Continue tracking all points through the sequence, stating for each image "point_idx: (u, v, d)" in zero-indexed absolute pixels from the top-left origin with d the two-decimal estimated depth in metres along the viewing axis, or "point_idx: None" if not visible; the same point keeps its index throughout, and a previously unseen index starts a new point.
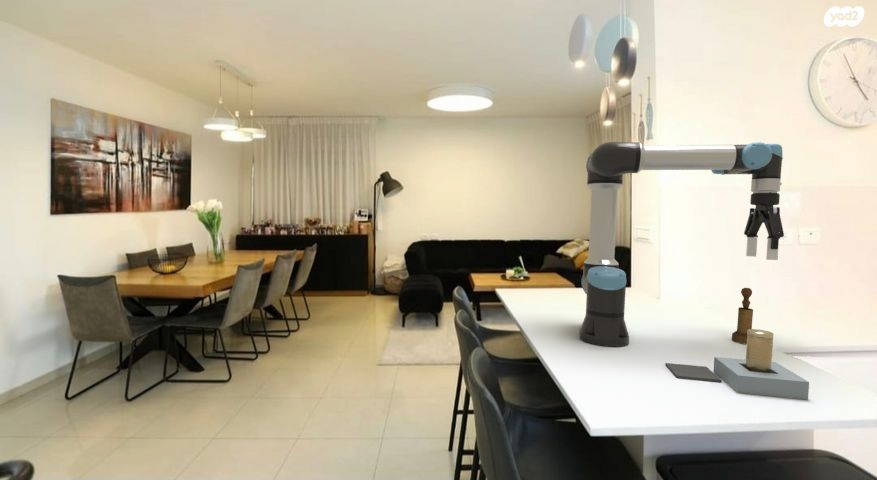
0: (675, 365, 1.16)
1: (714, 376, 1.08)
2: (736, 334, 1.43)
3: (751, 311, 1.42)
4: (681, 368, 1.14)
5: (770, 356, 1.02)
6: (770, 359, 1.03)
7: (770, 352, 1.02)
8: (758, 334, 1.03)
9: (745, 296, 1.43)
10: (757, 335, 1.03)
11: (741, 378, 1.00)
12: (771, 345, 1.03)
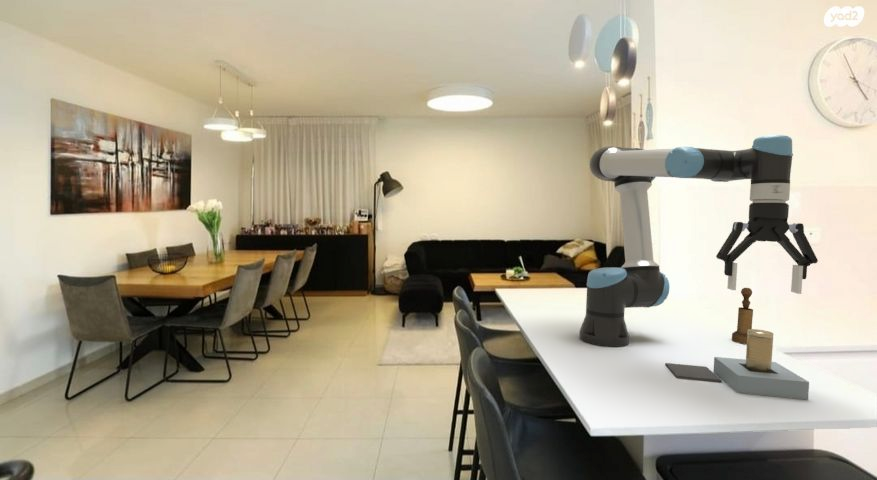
0: (675, 365, 1.16)
1: (714, 376, 1.08)
2: (736, 334, 1.43)
3: (751, 311, 1.42)
4: (681, 368, 1.14)
5: (770, 356, 1.02)
6: (770, 359, 1.03)
7: (770, 352, 1.02)
8: (758, 334, 1.03)
9: (745, 296, 1.43)
10: (757, 335, 1.03)
11: (741, 378, 1.00)
12: (771, 345, 1.03)
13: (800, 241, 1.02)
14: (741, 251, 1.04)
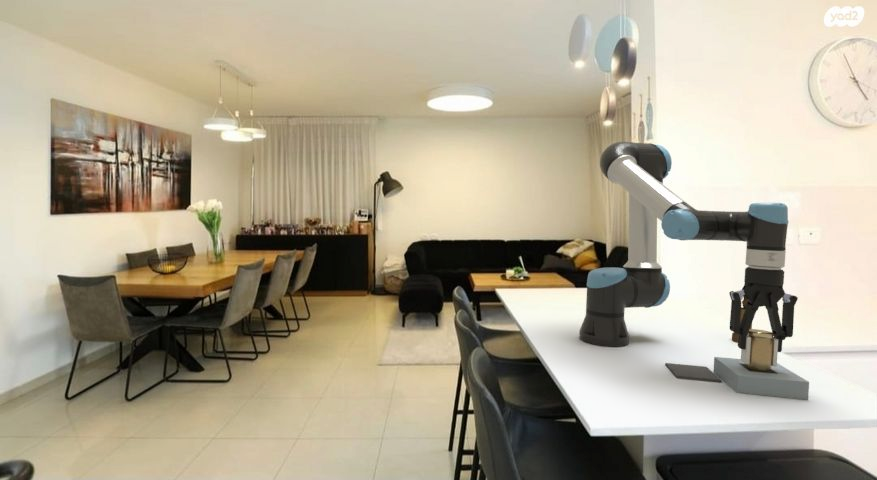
0: (675, 365, 1.16)
1: (714, 376, 1.08)
2: (736, 334, 1.43)
3: None
4: (681, 368, 1.14)
5: (770, 356, 1.02)
6: (770, 359, 1.03)
7: (770, 352, 1.02)
8: (758, 334, 1.03)
9: None
10: (757, 335, 1.03)
11: (741, 378, 1.00)
12: (771, 345, 1.03)
13: (786, 312, 1.03)
14: (749, 322, 1.04)
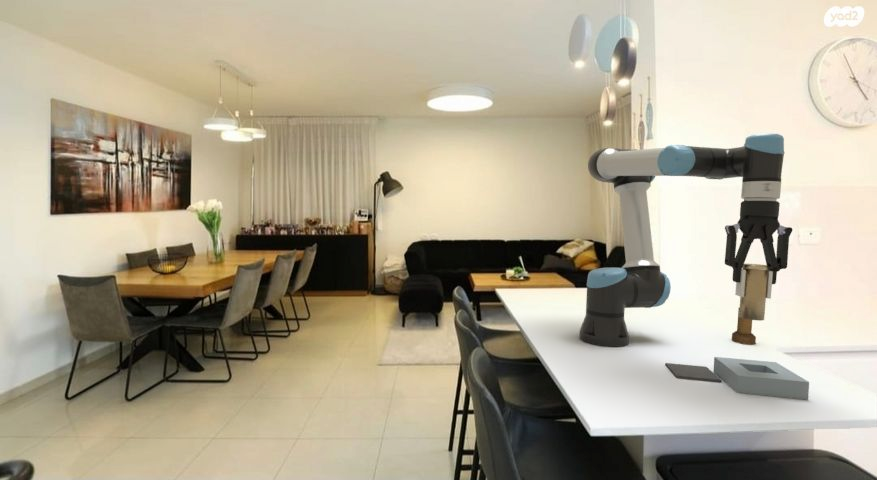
0: (675, 365, 1.16)
1: (714, 376, 1.08)
2: (736, 334, 1.43)
3: None
4: (681, 368, 1.14)
5: (764, 288, 1.03)
6: (765, 291, 1.03)
7: (765, 284, 1.03)
8: (753, 266, 1.03)
9: None
10: (752, 267, 1.03)
11: (741, 378, 1.00)
12: (766, 277, 1.03)
13: (781, 244, 1.03)
14: (745, 255, 1.04)
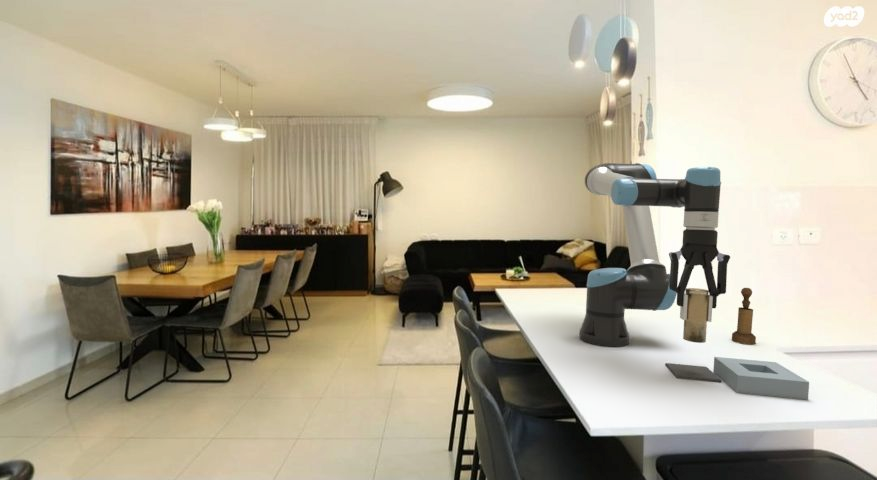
0: (675, 365, 1.16)
1: (714, 376, 1.08)
2: (736, 334, 1.43)
3: (751, 311, 1.42)
4: (681, 368, 1.14)
5: (705, 312, 1.09)
6: (705, 315, 1.09)
7: (705, 308, 1.09)
8: (694, 291, 1.09)
9: (745, 296, 1.43)
10: (693, 292, 1.09)
11: (741, 378, 1.00)
12: (706, 301, 1.09)
13: (720, 270, 1.09)
14: (686, 280, 1.10)
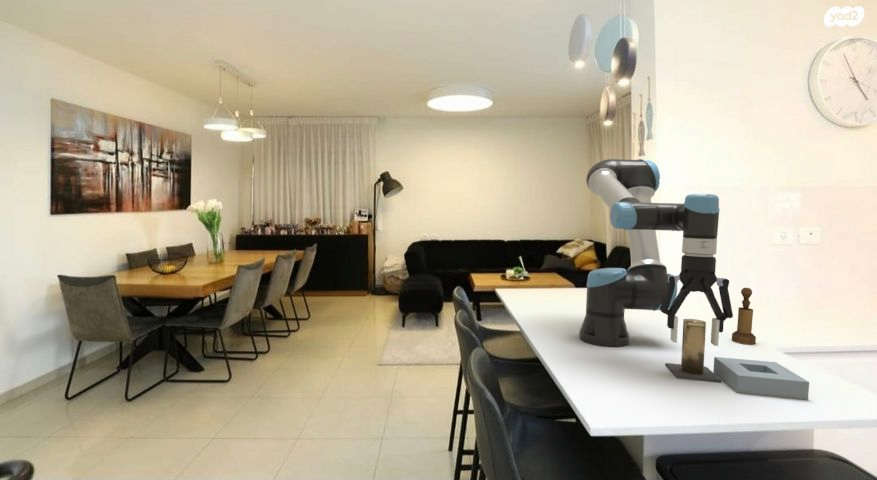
0: (675, 365, 1.16)
1: (714, 376, 1.08)
2: (736, 334, 1.43)
3: (751, 311, 1.42)
4: None
5: (702, 343, 1.09)
6: (703, 346, 1.10)
7: (702, 340, 1.09)
8: (691, 323, 1.10)
9: (745, 296, 1.43)
10: (690, 324, 1.10)
11: (741, 378, 1.00)
12: (703, 333, 1.09)
13: (722, 295, 1.09)
14: (679, 304, 1.11)
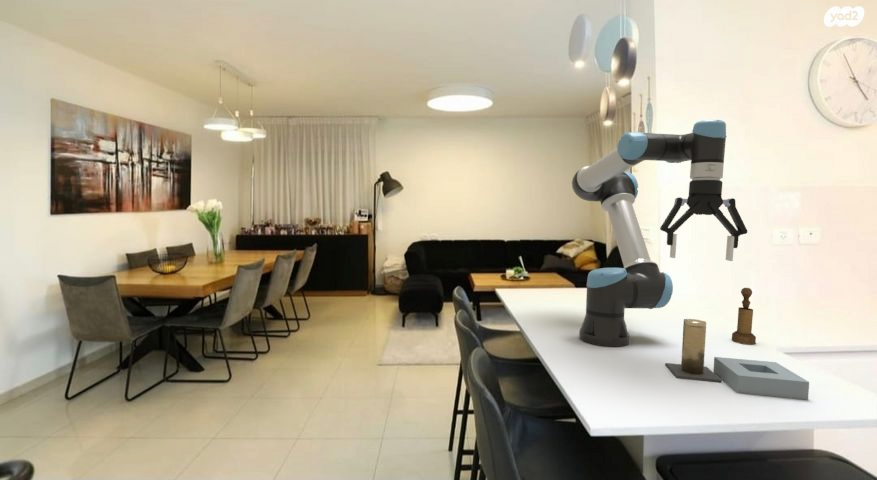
0: (675, 365, 1.16)
1: (714, 376, 1.08)
2: (736, 334, 1.43)
3: (751, 311, 1.42)
4: None
5: (702, 344, 1.09)
6: (703, 347, 1.09)
7: (703, 340, 1.09)
8: (692, 323, 1.10)
9: (745, 296, 1.43)
10: (691, 324, 1.10)
11: (741, 378, 1.00)
12: (704, 333, 1.09)
13: (732, 214, 1.14)
14: (680, 223, 1.17)
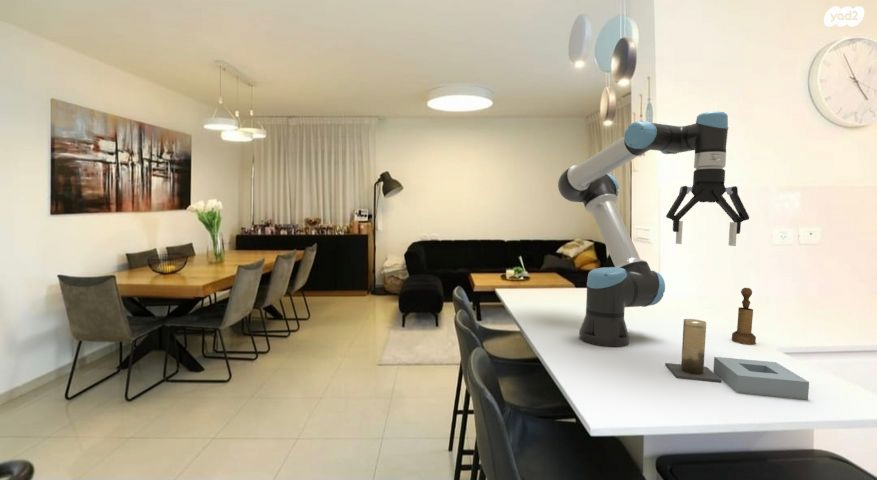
0: (675, 365, 1.16)
1: (714, 376, 1.08)
2: (736, 334, 1.43)
3: (751, 311, 1.42)
4: None
5: (702, 344, 1.09)
6: (703, 347, 1.09)
7: (703, 340, 1.09)
8: (692, 323, 1.10)
9: (745, 296, 1.43)
10: (691, 324, 1.10)
11: (741, 378, 1.00)
12: (704, 333, 1.09)
13: (735, 201, 1.20)
14: (686, 210, 1.22)
